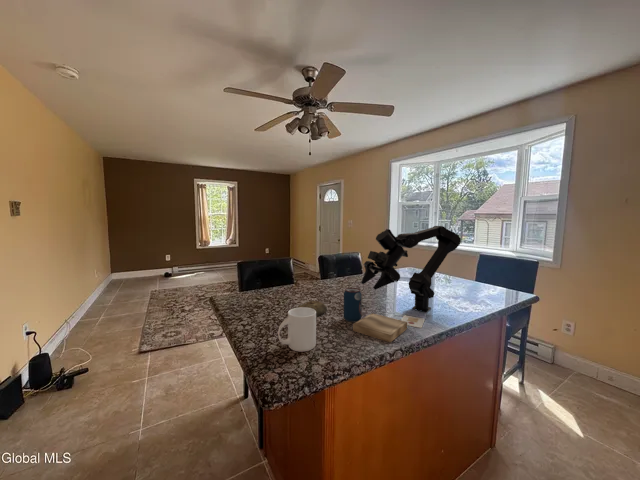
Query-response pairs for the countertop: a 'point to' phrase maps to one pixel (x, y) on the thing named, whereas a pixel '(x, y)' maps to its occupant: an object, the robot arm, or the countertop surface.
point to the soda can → (352, 304)
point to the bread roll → (315, 307)
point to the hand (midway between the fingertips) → (367, 286)
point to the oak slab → (380, 327)
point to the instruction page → (413, 321)
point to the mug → (300, 329)
